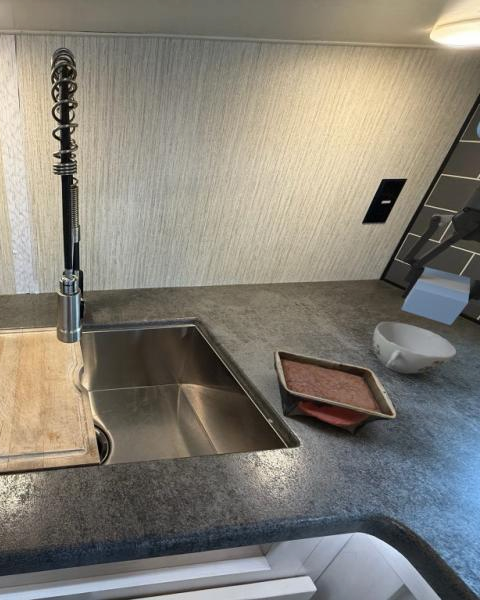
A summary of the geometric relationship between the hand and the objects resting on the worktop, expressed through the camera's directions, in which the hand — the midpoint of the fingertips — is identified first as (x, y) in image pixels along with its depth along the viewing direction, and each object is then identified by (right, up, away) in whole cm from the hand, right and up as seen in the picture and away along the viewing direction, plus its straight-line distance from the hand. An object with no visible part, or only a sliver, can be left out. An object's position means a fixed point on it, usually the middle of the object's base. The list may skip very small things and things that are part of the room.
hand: (429, 303), depth 64 cm
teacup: (-2, -15, +6) cm, 16 cm away
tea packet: (0, 0, 0) cm, 0 cm away
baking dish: (-26, -20, -3) cm, 33 cm away
